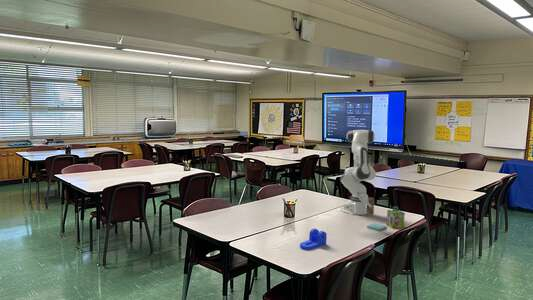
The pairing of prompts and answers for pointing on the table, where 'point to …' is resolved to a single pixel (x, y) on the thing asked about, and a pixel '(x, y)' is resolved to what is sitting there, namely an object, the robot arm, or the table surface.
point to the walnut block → (370, 209)
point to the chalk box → (395, 218)
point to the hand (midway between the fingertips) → (371, 205)
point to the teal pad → (376, 226)
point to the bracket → (314, 240)
